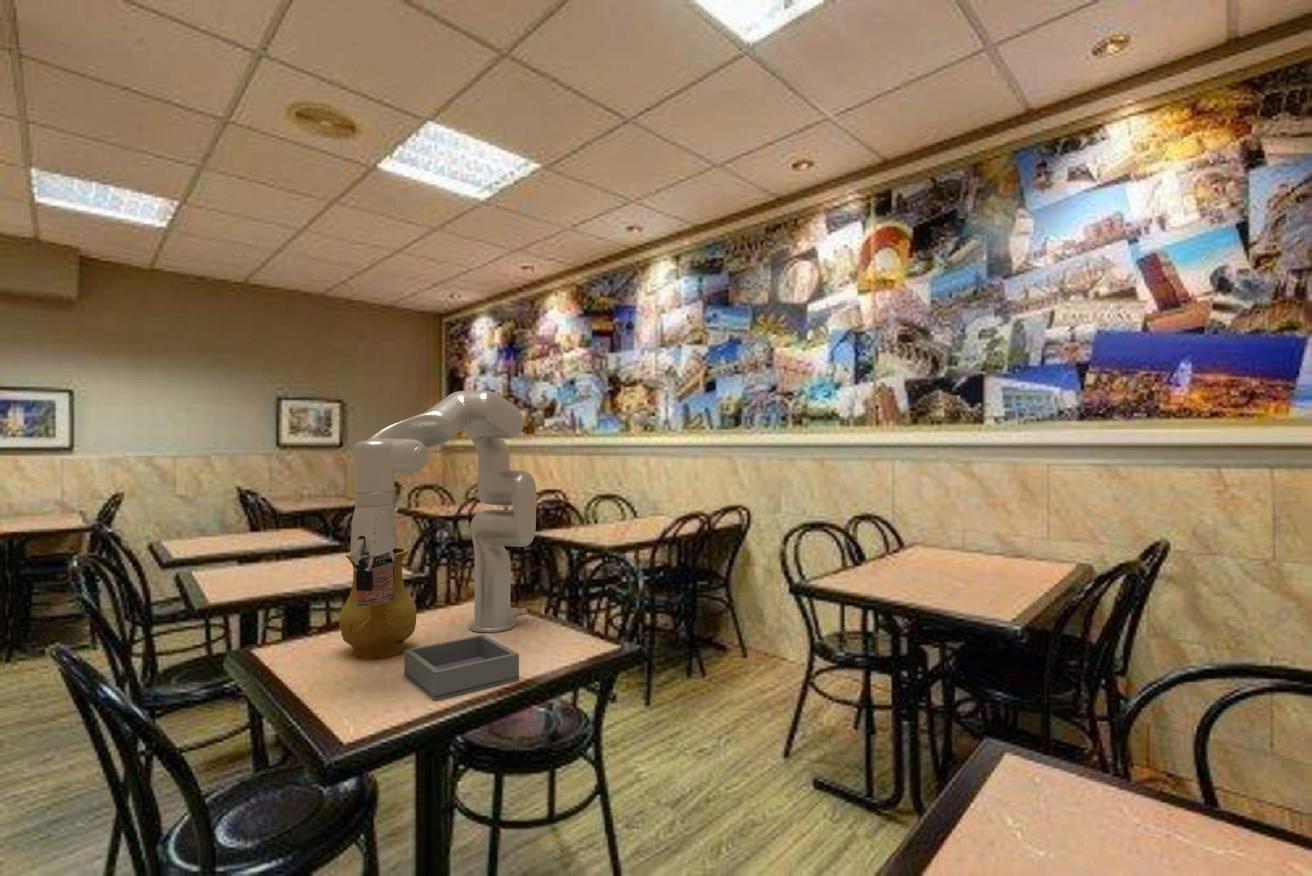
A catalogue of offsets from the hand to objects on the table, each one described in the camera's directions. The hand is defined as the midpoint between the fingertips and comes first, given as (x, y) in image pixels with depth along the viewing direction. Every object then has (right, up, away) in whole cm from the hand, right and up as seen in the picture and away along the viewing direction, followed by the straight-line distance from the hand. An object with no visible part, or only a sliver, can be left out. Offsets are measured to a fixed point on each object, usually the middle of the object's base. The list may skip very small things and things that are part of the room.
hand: (375, 585), depth 136 cm
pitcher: (-9, -21, +22) cm, 32 cm away
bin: (+16, -21, +5) cm, 27 cm away
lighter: (0, -4, 0) cm, 4 cm away
